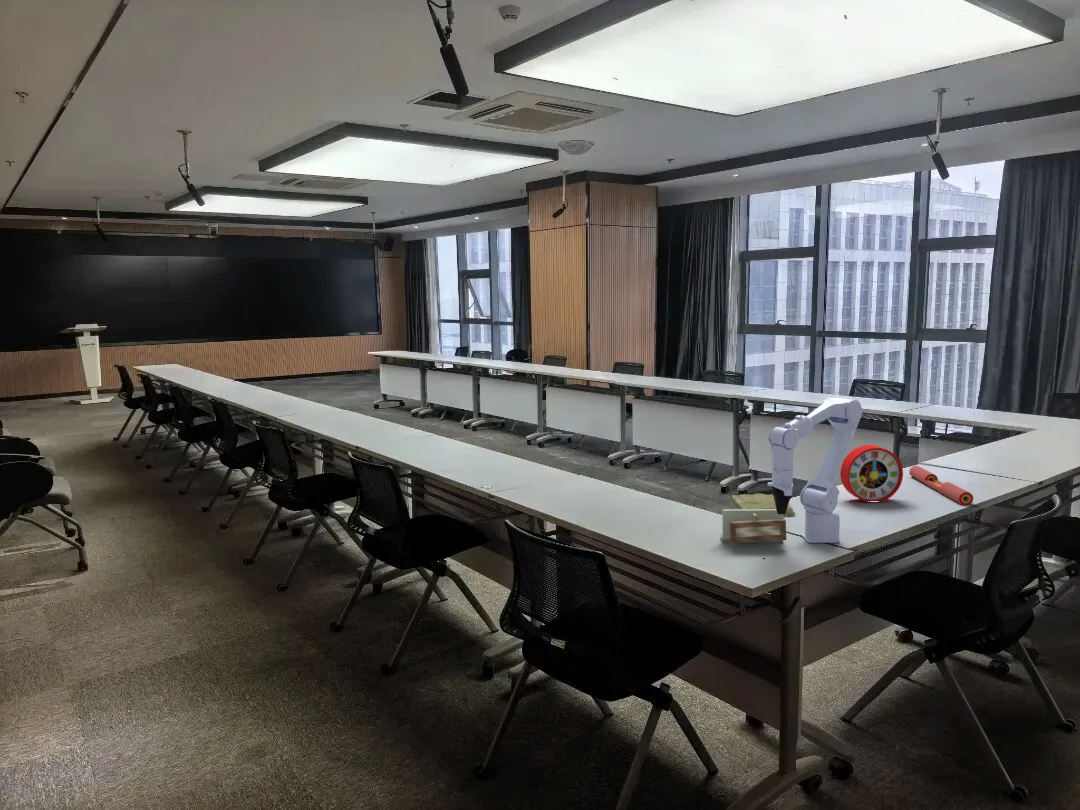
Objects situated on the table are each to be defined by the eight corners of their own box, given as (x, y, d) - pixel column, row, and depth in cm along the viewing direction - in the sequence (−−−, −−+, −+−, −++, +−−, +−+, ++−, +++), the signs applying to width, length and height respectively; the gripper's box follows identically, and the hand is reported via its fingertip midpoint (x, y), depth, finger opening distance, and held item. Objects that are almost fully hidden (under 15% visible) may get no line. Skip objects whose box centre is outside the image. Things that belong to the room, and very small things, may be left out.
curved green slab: (779, 538, 226) (780, 506, 225) (786, 546, 218) (787, 513, 217) (720, 538, 227) (720, 506, 226) (725, 546, 220) (725, 514, 218)
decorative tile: (743, 518, 249) (744, 508, 249) (731, 502, 269) (731, 493, 268) (799, 518, 248) (800, 507, 248) (782, 502, 268) (783, 492, 268)
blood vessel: (973, 505, 257) (974, 491, 256) (958, 505, 257) (959, 492, 256) (921, 477, 298) (922, 465, 297) (908, 477, 298) (909, 465, 298)
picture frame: (784, 538, 218) (784, 518, 217) (786, 540, 216) (785, 520, 215) (730, 541, 219) (729, 521, 218) (731, 542, 217) (730, 523, 216)
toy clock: (846, 503, 262) (848, 448, 259) (839, 499, 268) (841, 445, 265) (901, 502, 262) (904, 447, 259) (893, 497, 268) (896, 443, 265)
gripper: (762, 463, 222) (761, 506, 223) (774, 474, 207) (773, 520, 209) (786, 463, 221) (785, 506, 223) (800, 474, 207) (798, 520, 209)
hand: (781, 513), depth 216 cm, fingers closed
